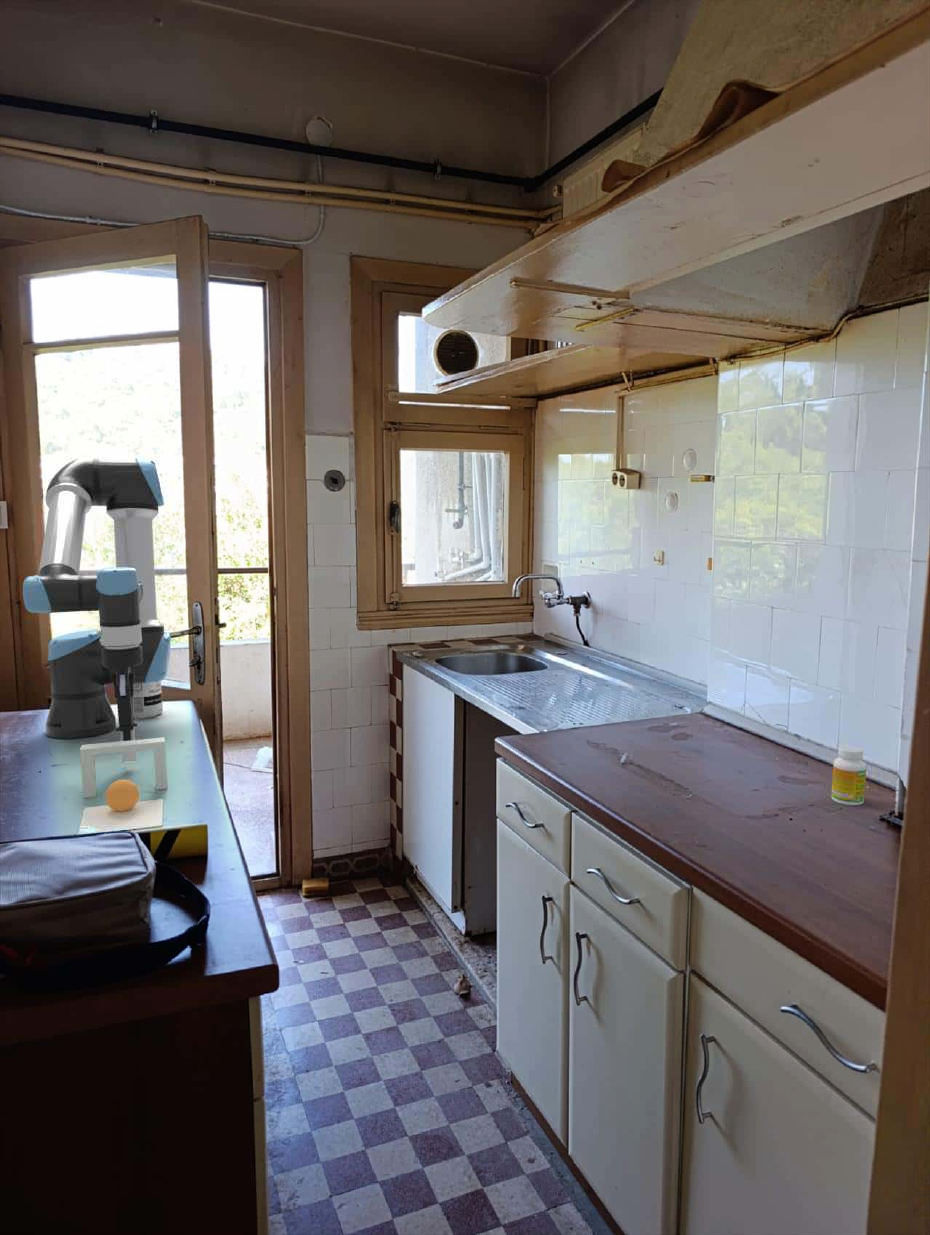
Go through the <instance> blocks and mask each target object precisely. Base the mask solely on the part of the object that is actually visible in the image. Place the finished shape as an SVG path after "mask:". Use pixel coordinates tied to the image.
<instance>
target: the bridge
mask: <svg viewBox="0 0 930 1235" xmlns="http://www.w3.org/2000/svg"><path fill="white" fill-rule="evenodd" d="M144 750H153V760H154V762H153V764H154V777H155V790H156V791H157V790H159V789H160V790H166V789H168V772H167V771H168V769H167V768H168V767H167V755H166V751H167V750H166V737H154V738H144V739H135V740H130V741H120V740H119V741H111V742H101V743H100V742H99V743H89V744H81V746H80V748H79V751H80V752H79V753H80V766H81V768H80V770H81V779H82V780H81V781H82V793H83V799H86V798H85V797H88V798H96V796H97V793H98V792H97V790H98V788H97V787H98V786H97V775H96V761H95V760H96V759H95V755H104V754H116V753H121V752H127V751H136V752H137V751H144ZM160 790H159V791H160ZM96 792H97V793H96Z"/></svg>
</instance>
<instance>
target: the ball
mask: <svg viewBox="0 0 930 1235" xmlns="http://www.w3.org/2000/svg"><path fill="white" fill-rule="evenodd" d="M139 798H140V790H139V788H138V786H137V785H136V783H135V782H133V781H131V780H130V779H129V780H128V779H118V780H116V781H114V782H112V783H111V784H110V785H109V786H108V788H107V789H106V792H105V802H106V805H108V806H109V807H110V808H111V809H113V810H115V811H119V812H123V811H127V810H130V809H131V808H133V807H134V806H135V805H136V803H137V802H139Z"/></svg>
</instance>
